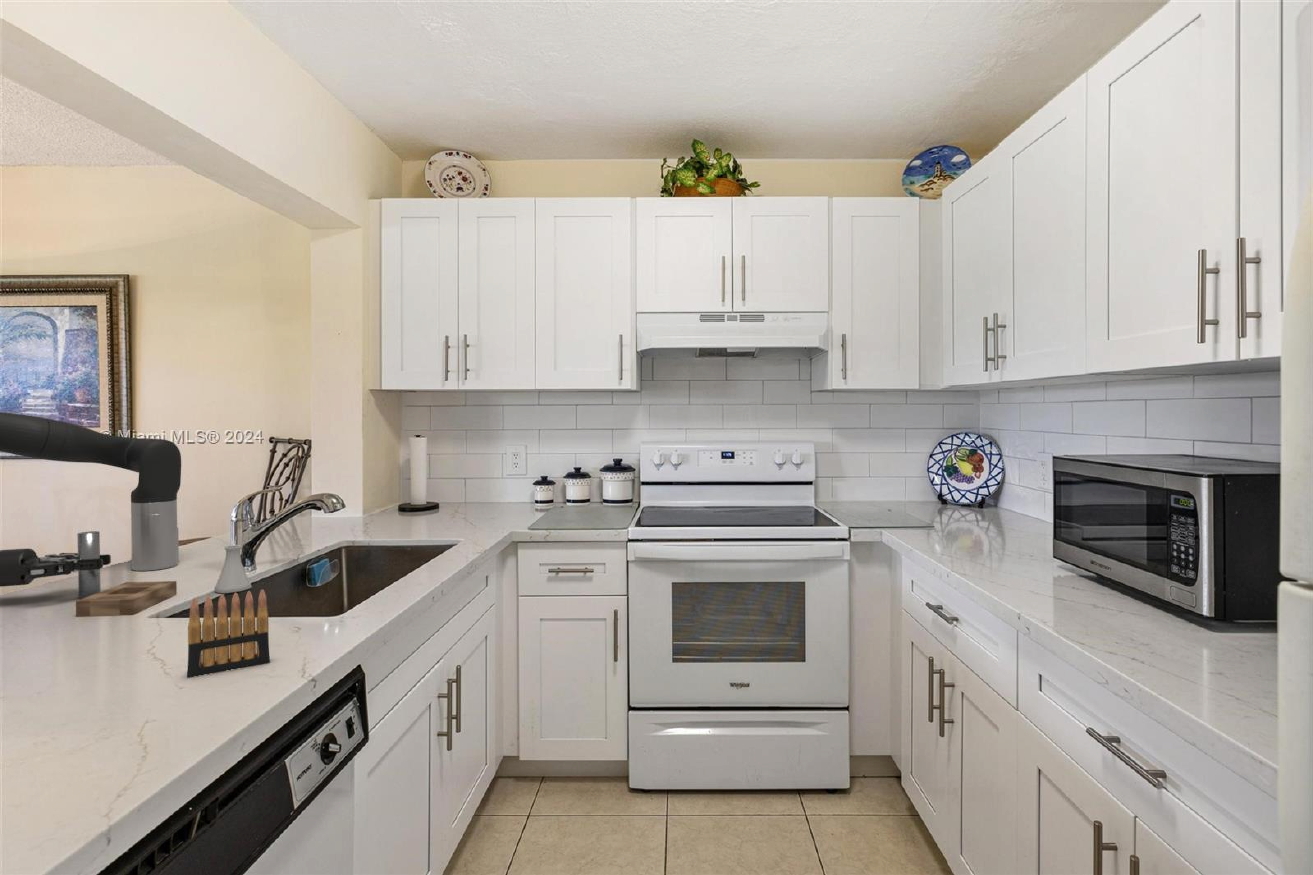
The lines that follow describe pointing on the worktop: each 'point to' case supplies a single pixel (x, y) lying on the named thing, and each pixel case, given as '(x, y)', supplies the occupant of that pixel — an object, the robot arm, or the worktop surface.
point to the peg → (88, 550)
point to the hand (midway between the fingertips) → (105, 561)
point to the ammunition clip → (227, 636)
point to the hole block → (126, 598)
